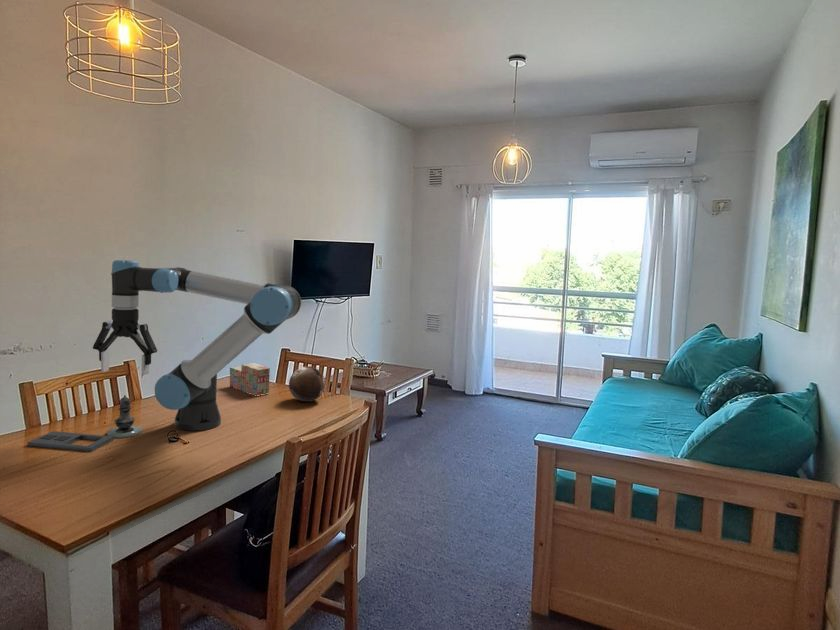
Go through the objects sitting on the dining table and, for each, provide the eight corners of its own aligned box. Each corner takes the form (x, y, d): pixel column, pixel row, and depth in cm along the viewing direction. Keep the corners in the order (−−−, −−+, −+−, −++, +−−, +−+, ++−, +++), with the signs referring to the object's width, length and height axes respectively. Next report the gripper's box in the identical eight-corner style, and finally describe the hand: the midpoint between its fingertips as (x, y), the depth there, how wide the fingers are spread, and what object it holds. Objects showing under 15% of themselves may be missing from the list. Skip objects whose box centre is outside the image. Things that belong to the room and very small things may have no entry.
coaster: (147, 429, 175) (147, 426, 174) (129, 439, 165) (129, 436, 165) (119, 426, 175) (119, 424, 175) (99, 436, 165) (99, 434, 165)
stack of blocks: (229, 387, 234) (229, 360, 233) (241, 385, 239) (242, 359, 238) (256, 397, 221) (257, 369, 220) (269, 395, 226) (270, 367, 225)
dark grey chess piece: (125, 434, 166) (125, 398, 165) (110, 431, 167) (110, 396, 166) (138, 428, 172) (139, 393, 171) (123, 426, 173) (123, 391, 172)
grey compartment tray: (113, 440, 163) (113, 436, 163) (91, 451, 153) (91, 447, 153) (53, 434, 164) (53, 430, 164) (27, 445, 154) (27, 441, 154)
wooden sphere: (280, 400, 218) (282, 366, 216) (307, 394, 230) (308, 361, 229) (305, 408, 209) (306, 372, 208) (331, 401, 222) (333, 367, 220)
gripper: (169, 309, 168) (168, 373, 171) (96, 304, 170) (96, 367, 172) (155, 311, 161) (155, 378, 163) (79, 306, 162) (80, 372, 165)
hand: (125, 372), depth 168 cm, fingers open, 13 cm apart
